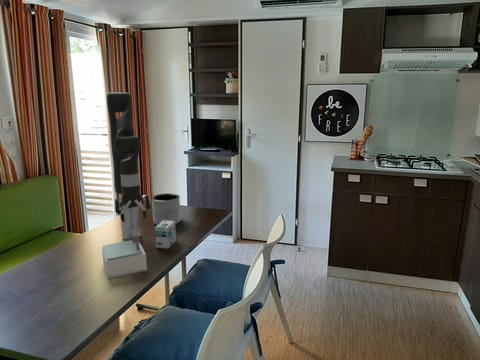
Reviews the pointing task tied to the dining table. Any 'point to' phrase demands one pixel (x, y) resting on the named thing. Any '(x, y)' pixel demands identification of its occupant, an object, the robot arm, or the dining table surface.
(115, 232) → the dining table surface
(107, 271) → the cabinet
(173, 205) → the planter
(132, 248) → the door
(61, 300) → the dining table surface
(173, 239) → the light bulb box
